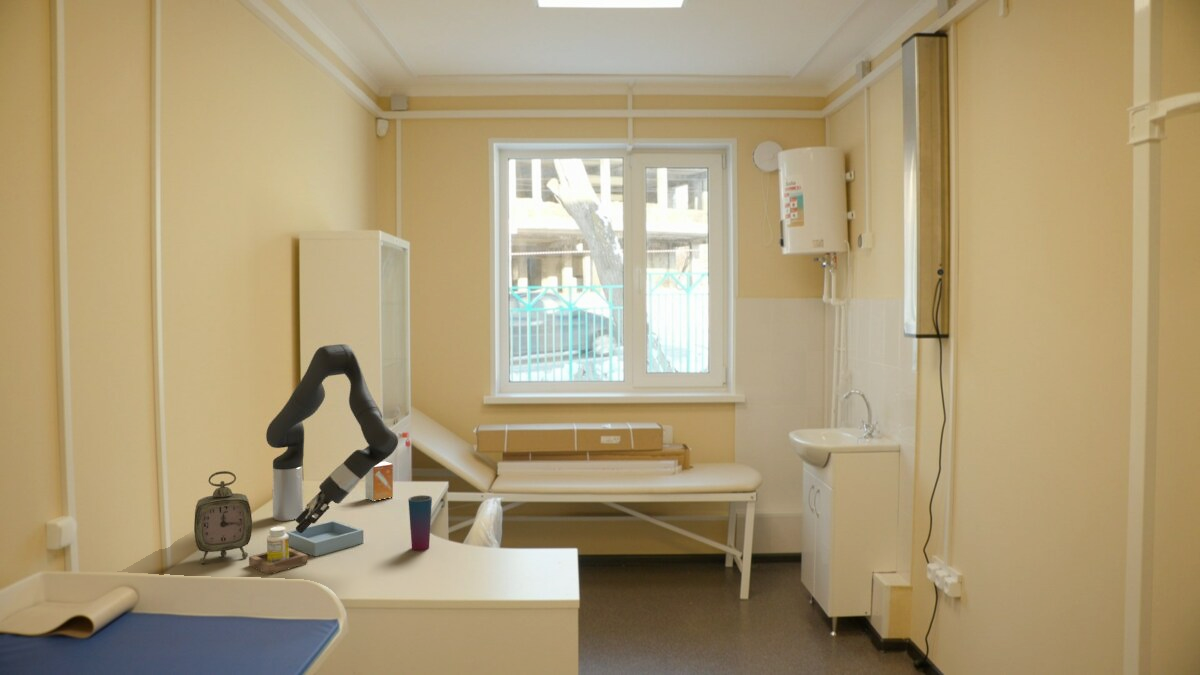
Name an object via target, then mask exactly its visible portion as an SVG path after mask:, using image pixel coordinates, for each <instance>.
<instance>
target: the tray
mask: <svg viewBox="0 0 1200 675" xmlns="http://www.w3.org/2000/svg"><path fill="white" fill-rule="evenodd" d="M286 534H288V536H289V546H290V547H289V548H291V547H293V548H292V549H294V548H295V549H294V550H296V549H298V550H297V551H299V550H300V551H299V552H301V551H303V552H302V553H304V552H306V553H305V554H307V553H308V554H307V555H309V554H310V556H312V555H313V556H312V557H314V556H316V557H320V556H323V555H326V554H330V553H333V552H337V551H340V550H344V549H348V548H351V547H355V546H358V544H359V545H361V543H362V544H364V529H361V528H358V527H355V526H353V525H352V526H351V525H349V524H345V523H343V522H340V521H336V520H335V519H334V520H329V521H326V522H322V523H318V524H312V525H309V526H308V527H307V528H306V529H305V530H304V532H303V533H299V532H298V531H297V530H296V529H293V530H290V531H286ZM319 555H320V556H319Z"/></svg>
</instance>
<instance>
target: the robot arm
mask: <svg viewBox="0 0 1200 675" xmlns="http://www.w3.org/2000/svg"><path fill="white" fill-rule="evenodd" d="M338 375H345V377H346V378H347V379H348V380H349V383H350V388H349V389H350V391H349V395H348V405H349V408H350V411H351V412H352V415H353V417H355V419H356V421H357V423H358V424H359V427H360V430H361V432H362V435H363V437H364V440H365V441H366V443H367V444H368V445H367V446H366V447H364V449H356V450H355V451H353V452H352V454H350V455H349V456H348V457H347V458H346V459H345V460H344V461H343V462H342V463H341V464H340V465H338V466H337V467H336V468H335V469H334V470H333V471H332V472H331V473H330V474H329V475H328V477H326V478H325V480H323V481H322V482H321V483H320V485H319V489H320V491H318V493H317V494H316V495H315V496H314V497H313V498H312V499H311V500H310V501H309V502H308V503H307V504H306V506H305V508H304V489H303V484H304V483H303V482H304V481H303V476H304V475H303V461H304V455H305V454H304V453H305V451H304V450H305V448H304V447H305V428H304V424H303V421H305V420H306V419H308V418H310V417H311V416H313V415H314V414H315V413H316V412H317V411H318V410H319V408H320V407H321V406H322V404H323V402H324V400H325V397H326V390H325V387H324V385H323V382H324V380H325V379H326V378H328V377H331V376H338ZM265 437H266V438H265V439H266V442H267V444H268V445H269V447H271V448H273V449H274V448H275V449H281V448H287V449H286V450H285V451H284V452H283V453H281V454H280V455H277V457H275V458H274V459H273V461H272V483H273V484H272V488H273V489H272V516H273V519H274V520H275V521H282V522H283V521H284V522H285V521H294V519H295V522H296V523H297V526H296V527H295V530H297V531H298V532H299V533H303V532H304V530H305V529H306V528H307V527H309V526H311V524H312V525H315V524H316V523H317V522H318V520H319V519H320V518H321V517H323V515H324V514H325V513H326V512H327V511H328V510H329V509H330V506H329V505H330V504H331V502H334V503H335V504H341V502H342V501H343V500H344V499H345V498H346V497H347V496H348V495H350V493H351V492H353V490H354V489H355V488H356V487H357V485H359V483H360V482H361V480H362V479H363V478H365V475H366V474H367V473H368V472H369V471H370V470H371V468H373V467H374V466H376V465H377V464H379V463H380V462H384V460H386V459H388V457H390V456H391V455H393V453H394V452H395V451H396V449H397V448H398V444H399V438H398V436H397V434H396V433H395V432H393V430H391V429H390V428H389V427H388V426H387V425H386V423H385V421H384V419H383V413H382V412H381V410H380V408H379V406H378V405H377V403H376V401H375V400H374V398H373V396H372V394H371V392H370V391H369V388H368V386H367V382H366V380H365V377H364V374H363V371H362V369H361V367H360V362H359V361H358V357H357V356H356V354H355V351H354V350H353V348H351V346H350V345H348V344H345V343H343V344H341V343H339V344H331V345H323V346H320V347H319V348H318V349H317V350H315V353H314V355H313V357H312V358H311V361H310V362H309V365H308V367H307V370H306V371H305V373H304V375H303V377H302V379H301V380H300V382H299V383H298V385H297V386H296V387H295V389H294V391H293V392H292V394H291V395H290V397H289V399H288V401H287V402H286V404H285V405H284V406H283V407H282V409H281V410H280V411H279V413H278V414H277V415H276V416H275V417H274V418H273V419H272V420H271V422H270V423H269V424H268V427H267V430H266V434H265Z"/></svg>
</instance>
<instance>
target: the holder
mask: <svg viewBox="0 0 1200 675" xmlns="http://www.w3.org/2000/svg"><path fill="white" fill-rule="evenodd" d="M306 563H307V564H308V554H307V553H304V552H301V551H299V550H296V549H294V548H291V547H289V558H287V559H284V560H280V561H276V562H273V563H271V562H269V561H268V558H267V551H264V552H261V553H258V554H257V553H256V554H253V555H250V556H248V564H249V565H250V566H249V565H248V566H249V567H251V566H252V567H251V568H253V567H255V568H254V569H256V568H257V569H256V570H258V569H259V570H258V571H260V570H262V571H263V573H265V574H267V573H268V575H269V574H270V575H272V574H271V573H273V574H275V573H274V572H277V571H280V572H282V571H281V570H284V571H286V570H285V569H287V570H289V569H288V568H291V567H294V568H296V567H295V566H298V567H300V566H299V565H301V566H303V565H302V564H305V565H307V564H306ZM291 569H292V568H291ZM262 571H261V572H262ZM277 573H278V572H277Z"/></svg>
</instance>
